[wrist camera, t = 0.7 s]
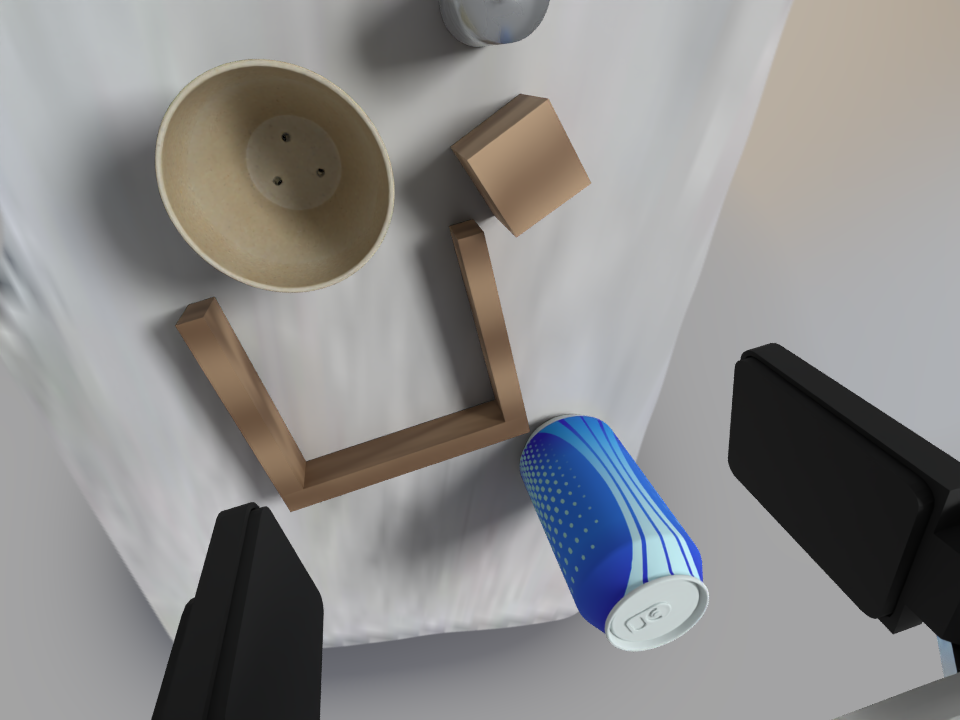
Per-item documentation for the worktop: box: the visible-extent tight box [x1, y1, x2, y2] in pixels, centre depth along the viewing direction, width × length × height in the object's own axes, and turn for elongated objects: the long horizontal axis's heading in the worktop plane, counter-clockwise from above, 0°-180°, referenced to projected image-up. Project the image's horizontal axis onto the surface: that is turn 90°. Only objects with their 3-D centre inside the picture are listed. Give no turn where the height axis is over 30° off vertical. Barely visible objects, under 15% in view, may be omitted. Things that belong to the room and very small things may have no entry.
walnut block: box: [451, 94, 591, 237], centre depth 30 cm, size 5×5×5 cm
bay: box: [175, 219, 530, 512], centre depth 35 cm, size 16×18×3 cm
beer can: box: [520, 414, 709, 651], centre depth 38 cm, size 8×8×16 cm
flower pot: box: [155, 59, 394, 293], centre depth 26 cm, size 10×10×7 cm
